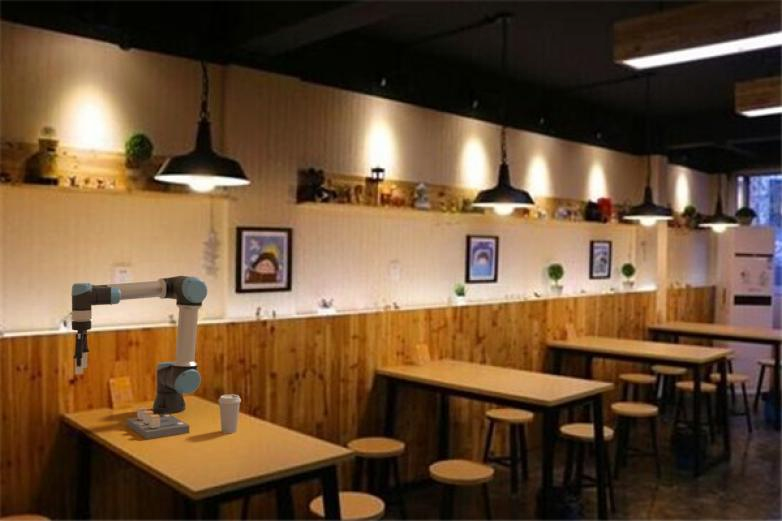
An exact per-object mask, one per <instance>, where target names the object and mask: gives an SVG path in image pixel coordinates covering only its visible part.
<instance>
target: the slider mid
mask: <svg viewBox="0 0 782 521" xmlns="http://www.w3.org/2000/svg"><path fill="white" fill-rule="evenodd" d="M154 413H155V412H153V410H152V409H151V410H147V411H143V422H144V423H145V424H149V422H150V415H155V414H154Z"/></svg>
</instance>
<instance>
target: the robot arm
mask: <svg viewBox="0 0 782 521" xmlns="http://www.w3.org/2000/svg"><path fill="white" fill-rule="evenodd" d="M207 295H208V286H207V284H206V282H204V280H203V279H202V278H199V277H196V276H185V275H177V276H176V275H175V276H171V277H164V278H159V279H158V280H152V281H139V282H125V283H122V282H121V283H108V284H98V285H95V284H92V283H89V282H81V283H78V282H77V283H73V285H72V286H71V295H70V296H71V312H70V314H69V315H71V320H72V321H71V330H72V331H77V333H76V334H75V347H74V348H75V349H74V355H72V356H73V359H74V360H75V362H74V363H75V364H74V365H75V366H74V367H75V368H74V371H75V375H83V372H84V369H87V368H88V353H90V349H89V346H88V345H89V344H88V331H89V330H91V329H92V320H91V319H92V316H93V314H92V310H93V309H92V306H105V305H106V306H107V305H108V306H109V305H111V306H112V305H118V304H119V303H120V302H121V301H126V300H127V301H128V300H136V299H149V298H151V299H152V298H159V299H171V300H175V303H176V304H175V305H176V307H177V308H178V319H177V332H176V333H177V336H176V347H175V348H176V349H175V360H173V361H165V362H159V363H158V364H156V371H155V372H156V395H155V398H154V401H153V404H152V412H154V413H157V414H164V413H168V414H174V413H180V412H184V411H185V410H186V402H185V398H184V396H183V395H189V394H192V393H195V392H196V390H197V389H199V387H200V385H201V383H202V382H201V381H202V377H201V374H200V373H199V371H198V363H197V362H196V361H195V359H196V358H195V357H196V346H197V332H198V317H199V310H200V309H201V307H202V306H203V301H204V300H205V299H206V297H207Z"/></svg>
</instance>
